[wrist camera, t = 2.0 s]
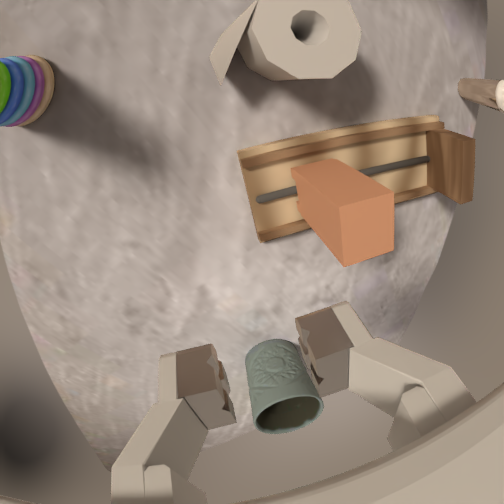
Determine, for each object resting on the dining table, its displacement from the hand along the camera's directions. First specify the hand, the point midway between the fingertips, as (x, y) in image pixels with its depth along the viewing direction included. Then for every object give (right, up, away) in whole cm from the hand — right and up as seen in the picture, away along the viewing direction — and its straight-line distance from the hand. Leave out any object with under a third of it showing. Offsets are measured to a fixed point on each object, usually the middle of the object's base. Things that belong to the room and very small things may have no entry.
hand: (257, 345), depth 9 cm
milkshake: (+30, +26, +24) cm, 46 cm away
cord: (+12, +12, +26) cm, 31 cm away
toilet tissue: (+1, +24, +19) cm, 31 cm away
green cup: (+3, -14, +41) cm, 43 cm away
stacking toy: (-24, +20, +15) cm, 35 cm away
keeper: (+7, +10, +26) cm, 29 cm away
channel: (+12, +13, +27) cm, 33 cm away
